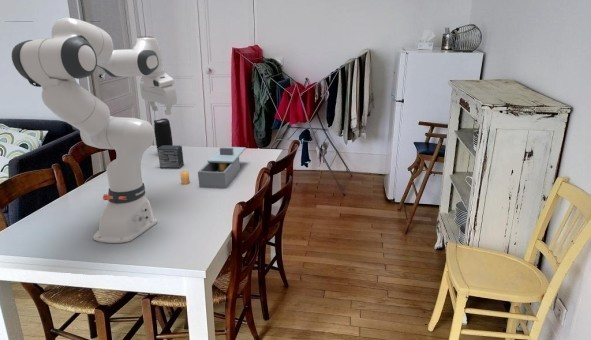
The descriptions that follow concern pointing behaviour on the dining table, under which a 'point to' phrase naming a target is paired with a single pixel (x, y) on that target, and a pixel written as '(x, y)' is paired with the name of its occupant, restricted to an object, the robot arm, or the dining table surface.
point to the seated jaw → (222, 167)
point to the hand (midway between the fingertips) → (161, 112)
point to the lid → (227, 154)
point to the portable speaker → (162, 132)
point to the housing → (218, 174)
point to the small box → (170, 156)
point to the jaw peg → (185, 177)
